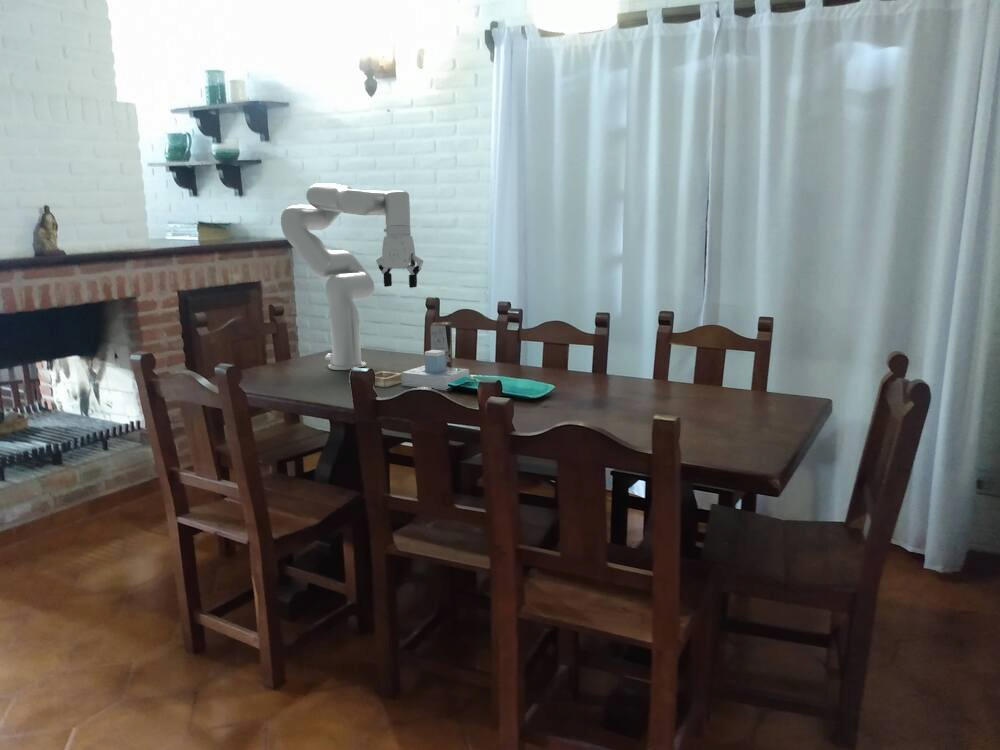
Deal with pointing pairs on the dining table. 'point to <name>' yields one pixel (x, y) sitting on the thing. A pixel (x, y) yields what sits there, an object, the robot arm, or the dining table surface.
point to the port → (432, 377)
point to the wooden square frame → (387, 378)
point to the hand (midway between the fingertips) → (400, 286)
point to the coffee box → (442, 340)
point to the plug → (435, 361)
